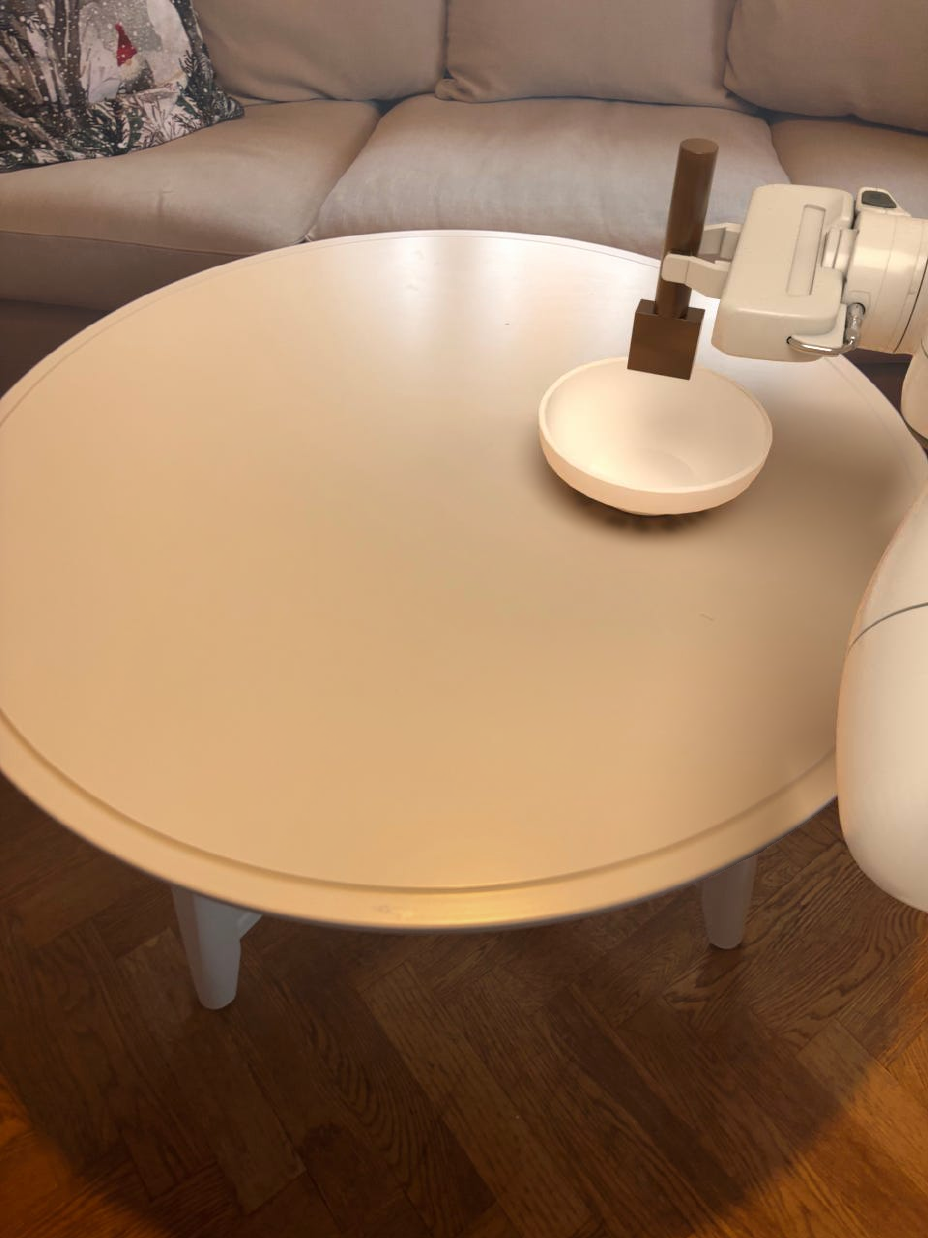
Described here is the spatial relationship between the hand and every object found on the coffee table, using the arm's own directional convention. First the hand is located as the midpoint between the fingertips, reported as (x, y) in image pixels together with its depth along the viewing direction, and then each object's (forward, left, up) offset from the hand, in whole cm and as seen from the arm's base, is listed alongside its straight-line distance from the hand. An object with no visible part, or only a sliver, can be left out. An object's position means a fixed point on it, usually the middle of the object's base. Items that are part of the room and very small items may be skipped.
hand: (668, 250), depth 70 cm
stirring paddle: (-1, 0, -9) cm, 10 cm away
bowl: (-1, 0, -22) cm, 22 cm away
